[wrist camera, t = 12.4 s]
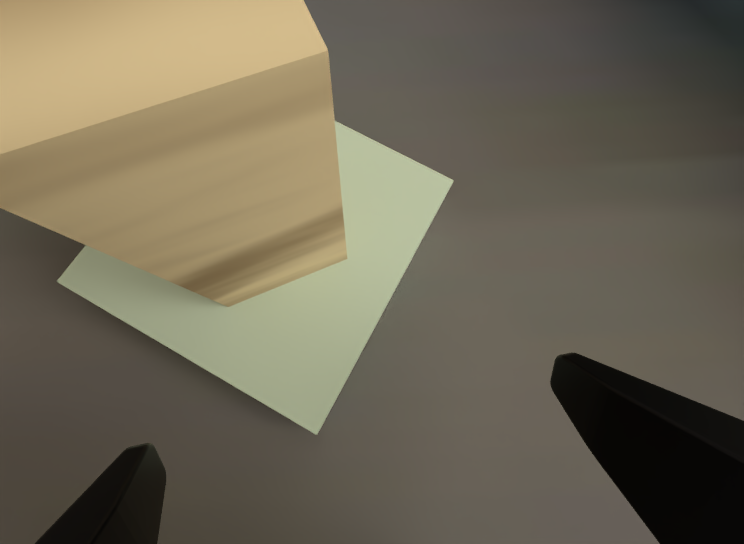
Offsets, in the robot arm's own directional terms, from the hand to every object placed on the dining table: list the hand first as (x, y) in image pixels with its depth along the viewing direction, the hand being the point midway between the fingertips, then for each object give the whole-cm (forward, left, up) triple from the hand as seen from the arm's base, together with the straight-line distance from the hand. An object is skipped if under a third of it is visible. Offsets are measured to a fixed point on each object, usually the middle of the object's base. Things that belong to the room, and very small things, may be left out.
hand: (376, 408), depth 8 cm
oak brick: (+4, +8, -8) cm, 12 cm away
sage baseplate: (+4, +8, -10) cm, 14 cm away
